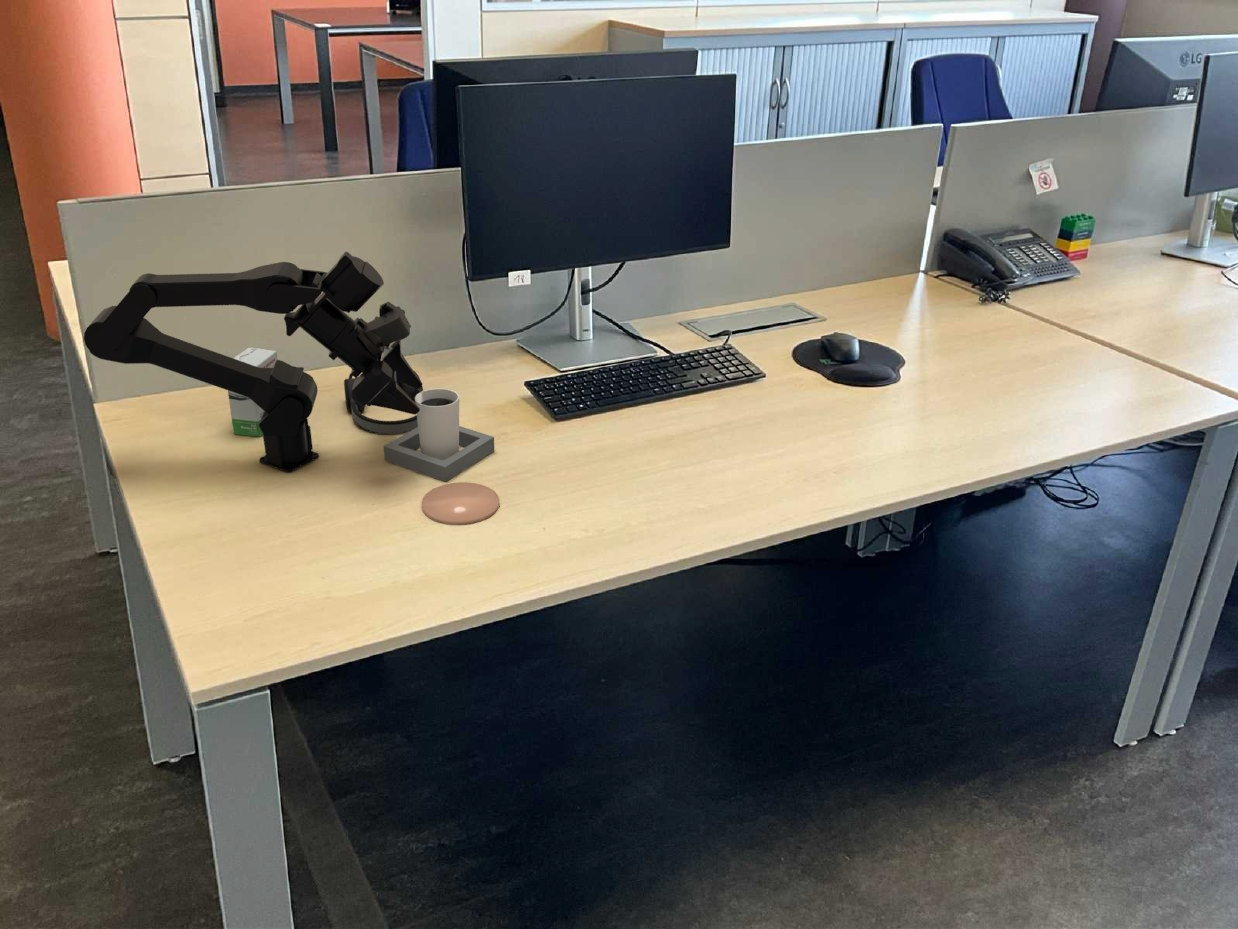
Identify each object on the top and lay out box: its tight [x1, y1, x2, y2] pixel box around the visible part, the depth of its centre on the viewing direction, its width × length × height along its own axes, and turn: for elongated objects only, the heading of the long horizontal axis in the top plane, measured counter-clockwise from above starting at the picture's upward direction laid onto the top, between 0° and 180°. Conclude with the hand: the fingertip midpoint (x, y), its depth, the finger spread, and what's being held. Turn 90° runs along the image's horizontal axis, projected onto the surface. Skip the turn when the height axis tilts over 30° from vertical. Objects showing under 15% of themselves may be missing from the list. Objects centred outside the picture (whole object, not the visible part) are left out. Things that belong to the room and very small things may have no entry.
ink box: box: [227, 347, 279, 437], centre depth 174 cm, size 9×5×12 cm, turn 168°
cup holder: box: [383, 425, 495, 483], centre depth 168 cm, size 12×12×2 cm
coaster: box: [421, 481, 500, 526], centre depth 156 cm, size 11×11×1 cm
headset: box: [343, 370, 424, 435], centre depth 181 cm, size 13×9×19 cm
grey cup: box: [414, 388, 460, 461], centre depth 167 cm, size 7×7×10 cm
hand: (419, 399), depth 164 cm, fingers open, 9 cm apart
